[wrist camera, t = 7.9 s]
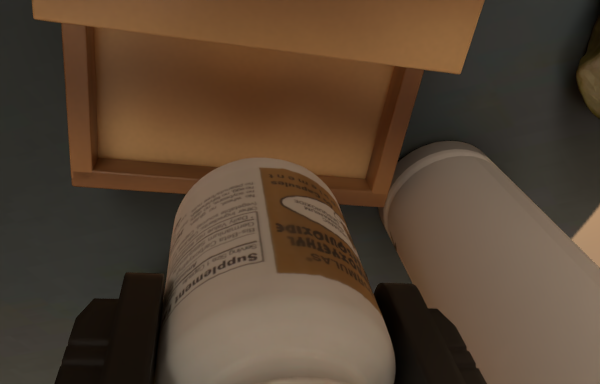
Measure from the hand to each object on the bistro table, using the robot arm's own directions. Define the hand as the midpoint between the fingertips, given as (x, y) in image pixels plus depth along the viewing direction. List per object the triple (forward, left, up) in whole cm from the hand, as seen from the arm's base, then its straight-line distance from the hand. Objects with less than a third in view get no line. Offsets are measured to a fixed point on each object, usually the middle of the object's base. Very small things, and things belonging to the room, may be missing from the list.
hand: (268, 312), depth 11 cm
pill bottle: (0, 0, -4) cm, 4 cm away
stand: (-3, 0, -14) cm, 14 cm away
